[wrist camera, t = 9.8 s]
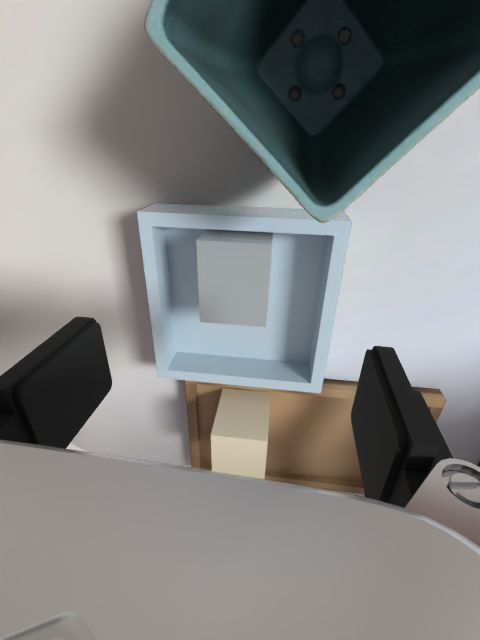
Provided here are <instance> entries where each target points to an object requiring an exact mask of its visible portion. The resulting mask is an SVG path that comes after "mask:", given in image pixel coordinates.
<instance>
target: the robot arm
mask: <svg viewBox="0 0 480 640" xmlns="http://www.w3.org/2000/svg"><path fill="white" fill-rule="evenodd" d="M111 386H112V379H111V374H110V369H109V365H108V360H107V355H106V350H105V346H104V341H103V336H102V331H101V327H100V324H99V323H97V322H96V320H95V319H93V318H87V317H75V318H74V319H73V320H71V321H70V322H69V323H68V324H66V325H65V326H64V327H62V328H61V329H60V330H59V331H57V332H56V333H55V334H53V335H52V336H51V337H50V338H48V339H47V340H46V341H45V342H43V343H42V344H41V345H39V346H38V347H37V348H36V349H34V350H33V351H32V352H31V353H29V354H28V355H27V356H25V357H24V358H23V359H22V360H20V361H19V362H18V363H16V364H15V365H14V366H13V367H11V368H10V369H9V370H8V371H6V372H5V373H4V374H2V375H1V376H0V640H480V467H478V466H476V465H474V464H472V463H470V462H467V461H464V460H461V459H453V457H452V455H451V453H450V451H449V449H448V447H447V445H446V443H445V440H444V438H443V436H442V434H441V432H440V430H439V428H438V426H437V424H436V422H435V420H434V418H433V416H432V414H431V412H430V410H429V408H428V406H427V404H426V402H425V400H424V398H423V396H422V394H421V393H420V392H419V391H417V390H413V389H412V387H411V385H410V382H409V380H408V378H407V376H406V374H405V372H404V369H403V367H402V365H401V363H400V361H399V359H398V356H397V354H396V352H395V350H394V348H392V347H382V346H374V347H373V349H372V350H367V351H366V354H365V358H364V362H363V366H362V370H361V374H360V378H359V382H358V386H357V390H356V394H355V398H354V402H353V406H352V411H351V424H352V429H353V434H354V440H355V445H356V450H357V456H358V461H359V466H360V471H361V477H362V482H363V487H364V493H365V497H360V496H355V495H351V494H346V493H340V492H335V491H329V490H323V489H318V488H312V487H306V486H301V485H295V484H289V483H283V482H277V481H271V480H264V479H258V478H252V477H246V476H239V475H233V474H227V473H221V472H214V471H208V470H202V469H195V468H189V467H182V466H176V465H169V464H163V463H157V462H150V461H143V460H137V459H130V458H124V457H117V456H111V455H104V454H97V453H91V452H84V451H77V450H70V449H66V448H67V446H68V445H69V444H70V442H71V441H72V440H73V438H74V437H75V436H76V435H77V433H78V432H79V431H80V429H81V428H82V427H83V425H84V424H85V423H86V421H87V420H88V419H89V417H90V416H91V415H92V413H93V412H94V411H95V410H96V408H97V407H98V406H99V404H100V403H101V402H102V400H103V399H104V398H105V396H106V395H107V394H108V392H109V391H110V389H111Z"/></svg>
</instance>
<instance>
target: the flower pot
mask: <svg viewBox="0 0 480 640" xmlns="http://www.w3.org/2000/svg"><path fill="white" fill-rule="evenodd" d="M343 29H347V30H348V31H349V33H350V35H349V39H348V41H347V42H344V43H341V42H340V41H339V38H338V36H339V33H340V31H341V30H343ZM145 31H146V33H147V36H148V38H149V39H150V41H151V42H152V43H153V45H154V46H155V47H156V48H157V49H158V50H159V51H160V53H161V54H162V55H163V56H164V57H165V58H166V59H167V60H168V61H169V62H170V63H171V64H172V65H173V66H174V67H175V68H176V69H177V70H178V71H179V72H180V73H181V74H182V75H183V77H184V78H185V79H186V80H187V81H188V82H189V83H190V84H191V85H192V86H193V87H194V88H195V89H196V90H197V91H198V93H199V94H200V95H201V96H202V97H204V99H205V100H206V101H207V102H208V103H209V104H210V105H211V107H212V108H214V109H215V111H216V112H217V113H218V114H219V115H220V116H221V117H222V118H223V119H224V120H225V121H226V122H227V123H228V125H229V126H230V127H231V128H232V129H233V130H234V131H235V133H236V134H237V135H238V136H239V137H240V138H241V139H242V140H243V141H244V142H245V143H246V144H247V145H248V146H249V148H250V149H251V150H252V151H253V152H254V153H255V154H256V155H257V156H258V157H259V158H260V159H261V161H262V162H263V163H264V164H265V165H266V166H267V167H268V168H269V169H270V171H271V172H272V173H273V174H274V175H275V176H276V177H277V178H278V180H279V181H280V182H281V183H282V184H283V185H284V186H285V188H286V189H288V191H289V192H290V193H291V194H292V195H293V196H294V197H295V199H296V200H297V201H298V202H299V204H300V205H301V206H302V207H303V208H304V209H305V210H306V212H307V213H308V214H309V215H310V216H311V217H312V218H314V219H315V220H317V221H318V222H321V223H325V222H329V221H331V220H333V219H334V218H335V217H337V216H338V215H339V214H341V213H342V212H343V211H344V210H345V209H346V208H347V207H348V206H349V205H350V204H351V203H352V202H353V201H355V200H356V199H357V198H358V197H359V196H360V195H361V194H362V193H363V192H364V191H365V190H367V189H368V188H369V187H370V186H371V185H372V184H373V183H375V182H376V181H377V180H378V179H379V178H380V177H381V176H382V175H383V174H384V173H385V172H387V171H388V170H389V169H390V168H391V167H392V166H393V165H394V164H395V163H396V162H397V161H399V160H400V159H401V158H402V157H403V156H404V155H406V154H407V153H408V152H409V151H410V150H411V149H412V148H413V147H414V146H415V145H416V144H417V143H418V142H419V141H421V140H422V139H423V138H424V137H425V136H426V135H428V134H429V133H430V132H431V131H432V130H433V129H434V128H435V127H436V126H438V125H439V124H440V123H441V122H442V121H444V120H445V119H446V118H447V117H448V116H449V115H450V114H451V113H452V112H453V111H454V110H455V109H457V108H458V107H459V106H460V105H461V104H462V103H463V102H465V101H466V100H467V99H468V98H469V97H470V96H471V95H473V94H474V93H475V92H476V91H477V90H478V89H479V88H480V0H152V2H151V4H150V6H149V9H148V11H147V14H146V21H145ZM297 32H298V33H301V34H302V37H303V40H302V43H301V44H300V45H298V46H295V45H294V44H293V42H292V37H293V35H294V34H295V33H297ZM337 86H342V88H343V94H342V95H341V96H340V97H335V96H334V93H333V92H334V89H335V87H337ZM293 88H297V89H298V90H299V97H298V98H297V99H292V98H291V97H290V91H291V90H292V89H293Z"/></svg>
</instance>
